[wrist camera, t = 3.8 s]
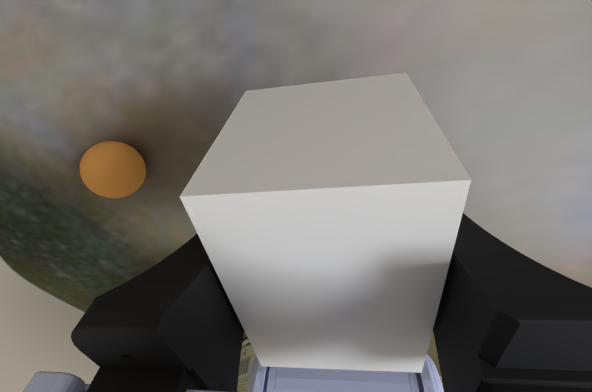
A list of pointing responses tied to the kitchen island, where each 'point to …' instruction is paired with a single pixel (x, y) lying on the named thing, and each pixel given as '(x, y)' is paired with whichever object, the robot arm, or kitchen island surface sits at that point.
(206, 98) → the kitchen island surface
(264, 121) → the white rectangular prism
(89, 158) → the ball
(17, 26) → the kitchen island surface
